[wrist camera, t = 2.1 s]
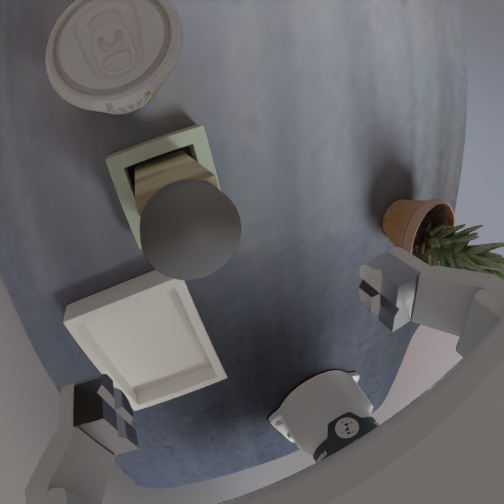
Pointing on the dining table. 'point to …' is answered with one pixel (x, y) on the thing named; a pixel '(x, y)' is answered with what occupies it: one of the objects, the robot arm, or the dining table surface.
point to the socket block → (147, 150)
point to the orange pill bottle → (113, 53)
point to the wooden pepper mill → (184, 218)
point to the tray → (146, 339)
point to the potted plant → (438, 237)
